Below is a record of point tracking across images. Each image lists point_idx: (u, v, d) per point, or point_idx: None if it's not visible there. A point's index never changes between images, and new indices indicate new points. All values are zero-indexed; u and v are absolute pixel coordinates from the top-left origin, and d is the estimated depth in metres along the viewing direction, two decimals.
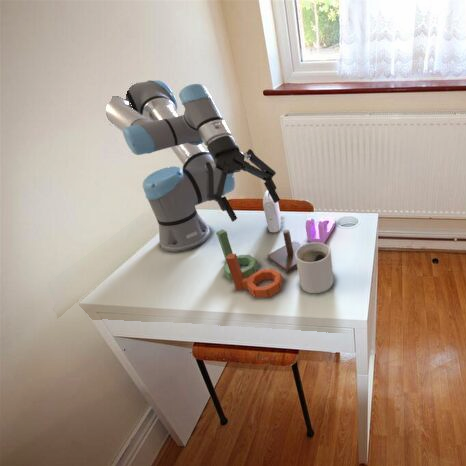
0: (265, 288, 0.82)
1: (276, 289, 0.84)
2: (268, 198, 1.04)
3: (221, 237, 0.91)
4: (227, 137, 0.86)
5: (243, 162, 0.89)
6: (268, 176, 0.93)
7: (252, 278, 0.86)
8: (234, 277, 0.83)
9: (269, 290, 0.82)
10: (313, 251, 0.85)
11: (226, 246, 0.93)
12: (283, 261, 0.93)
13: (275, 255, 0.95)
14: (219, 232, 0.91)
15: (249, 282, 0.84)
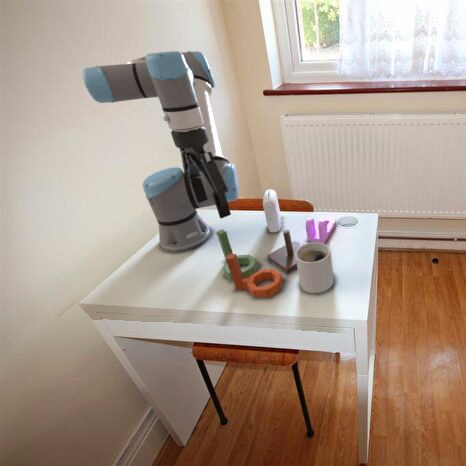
0: (265, 288, 0.82)
1: (276, 289, 0.84)
2: (268, 198, 1.04)
3: (221, 237, 0.91)
4: (174, 136, 0.73)
5: (195, 164, 0.77)
6: (213, 192, 0.78)
7: (252, 278, 0.86)
8: (234, 277, 0.83)
9: (269, 290, 0.82)
10: (313, 251, 0.85)
11: (226, 246, 0.93)
12: (283, 261, 0.93)
13: (275, 255, 0.95)
14: (219, 232, 0.91)
15: (249, 282, 0.84)
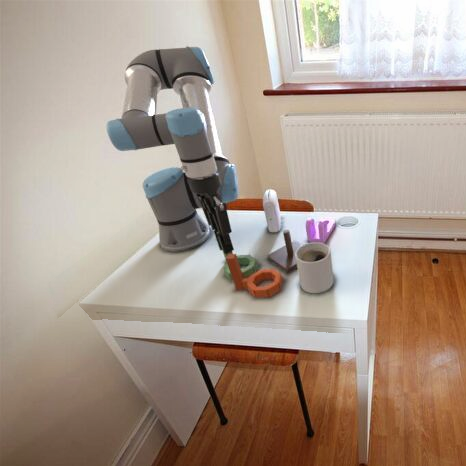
0: (265, 288, 0.82)
1: (276, 289, 0.84)
2: (268, 198, 1.04)
3: None
4: (191, 183, 0.80)
5: (208, 207, 0.84)
6: (219, 232, 0.88)
7: (252, 278, 0.86)
8: (234, 277, 0.83)
9: (269, 290, 0.82)
10: (313, 251, 0.85)
11: None
12: (283, 261, 0.93)
13: (275, 255, 0.95)
14: None
15: (249, 282, 0.84)
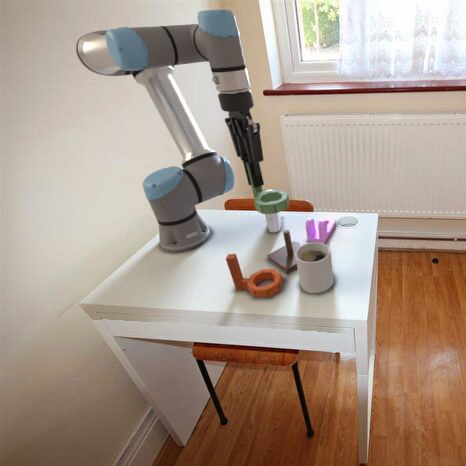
0: (265, 288, 0.82)
1: (276, 289, 0.84)
2: None
3: None
4: (222, 98, 0.73)
5: (239, 130, 0.78)
6: (249, 161, 0.82)
7: (252, 278, 0.86)
8: (234, 277, 0.83)
9: (269, 290, 0.82)
10: (313, 251, 0.85)
11: None
12: (283, 261, 0.93)
13: (275, 255, 0.95)
14: None
15: (249, 282, 0.84)
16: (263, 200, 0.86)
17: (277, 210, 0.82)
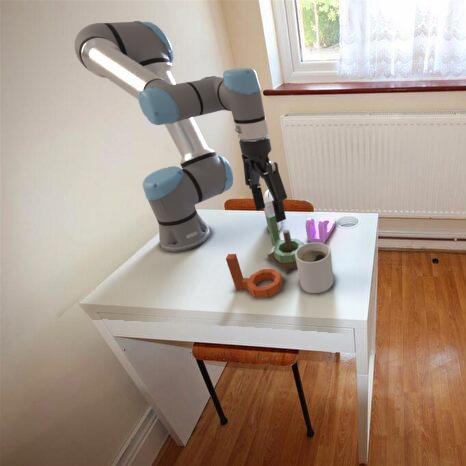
0: (265, 288, 0.82)
1: (276, 289, 0.84)
2: (268, 198, 1.04)
3: (271, 221, 0.94)
4: (244, 145, 0.79)
5: (259, 172, 0.84)
6: (273, 198, 0.85)
7: (252, 278, 0.86)
8: (234, 277, 0.83)
9: (269, 290, 0.82)
10: (313, 251, 0.85)
11: (274, 230, 0.96)
12: None
13: None
14: (269, 216, 0.94)
15: (249, 282, 0.84)
16: (281, 248, 0.96)
17: (294, 259, 0.92)
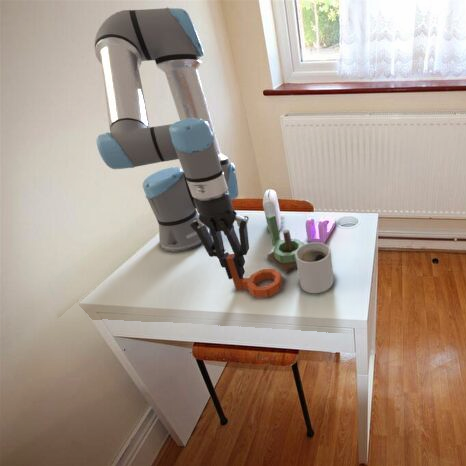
0: (265, 288, 0.82)
1: (276, 289, 0.84)
2: (268, 198, 1.04)
3: (271, 221, 0.94)
4: (210, 204, 0.69)
5: (224, 229, 0.75)
6: (236, 254, 0.79)
7: (252, 278, 0.86)
8: (234, 277, 0.83)
9: (269, 290, 0.82)
10: (313, 251, 0.85)
11: (274, 230, 0.96)
12: None
13: None
14: (269, 216, 0.94)
15: (249, 282, 0.84)
16: (281, 248, 0.96)
17: (294, 259, 0.92)
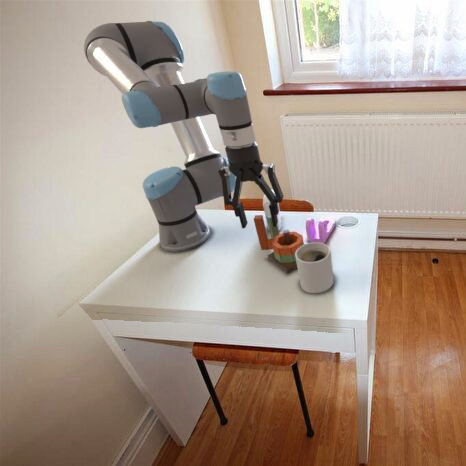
0: (289, 246, 0.90)
1: None
2: None
3: (271, 221, 0.94)
4: (241, 152, 0.75)
5: (254, 178, 0.81)
6: (272, 202, 0.85)
7: (276, 239, 0.93)
8: (260, 237, 0.91)
9: (292, 248, 0.90)
10: (313, 251, 0.85)
11: (275, 230, 0.96)
12: None
13: None
14: (269, 216, 0.94)
15: (274, 242, 0.92)
16: None
17: (295, 259, 0.92)
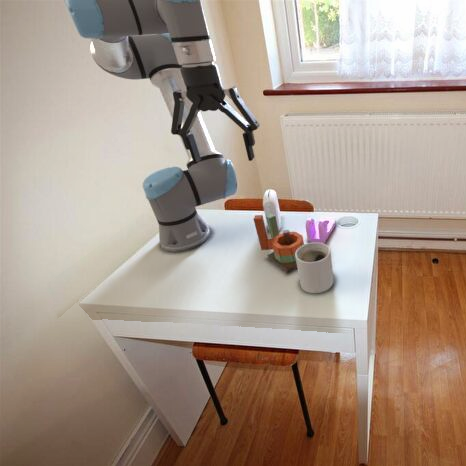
0: (289, 246, 0.90)
1: None
2: (268, 198, 1.04)
3: (271, 221, 0.94)
4: (197, 71, 0.67)
5: (217, 105, 0.72)
6: (246, 130, 0.75)
7: (276, 239, 0.93)
8: (260, 237, 0.91)
9: (292, 248, 0.90)
10: (313, 251, 0.85)
11: (275, 230, 0.96)
12: None
13: None
14: (269, 216, 0.94)
15: (274, 242, 0.92)
16: None
17: (295, 259, 0.92)
